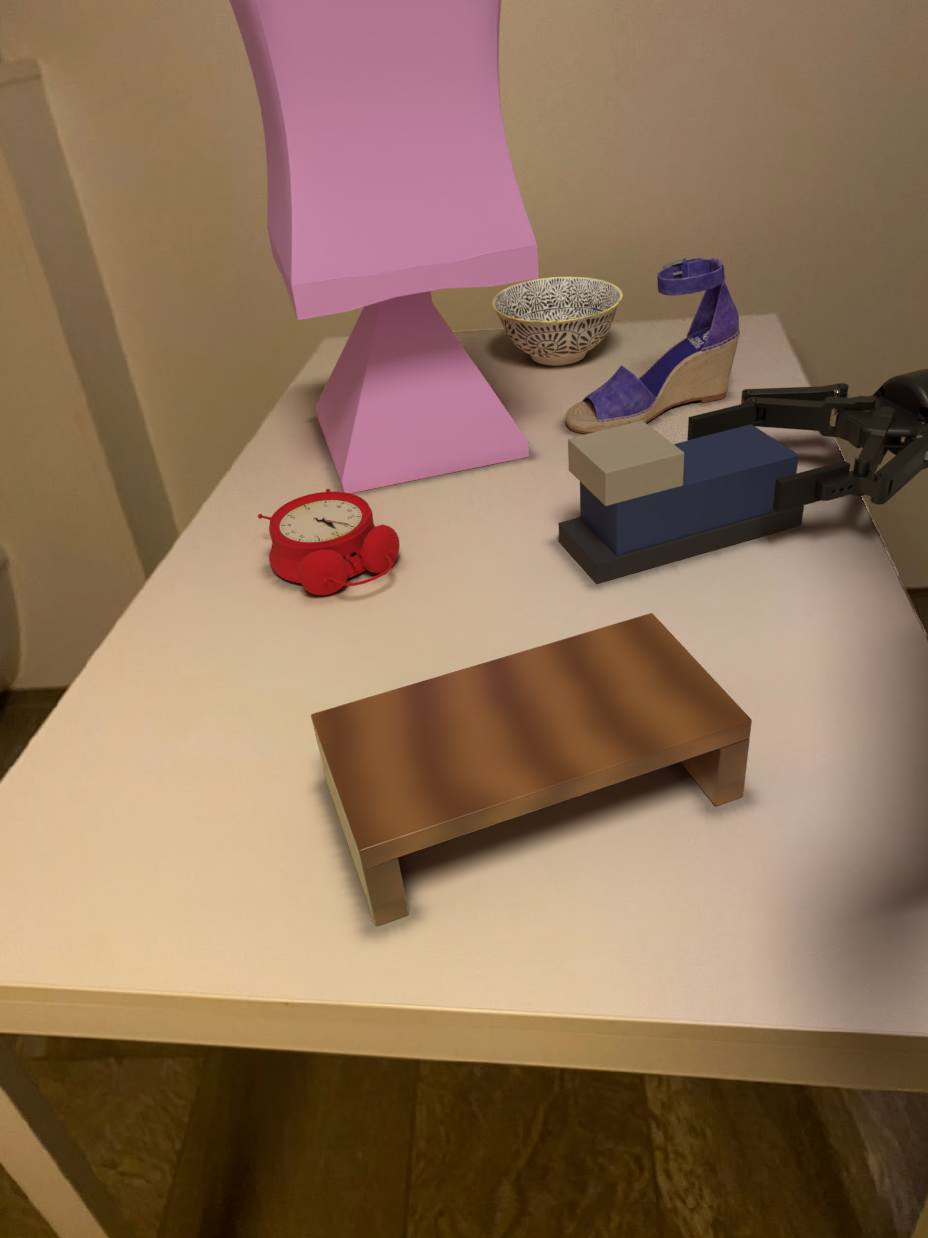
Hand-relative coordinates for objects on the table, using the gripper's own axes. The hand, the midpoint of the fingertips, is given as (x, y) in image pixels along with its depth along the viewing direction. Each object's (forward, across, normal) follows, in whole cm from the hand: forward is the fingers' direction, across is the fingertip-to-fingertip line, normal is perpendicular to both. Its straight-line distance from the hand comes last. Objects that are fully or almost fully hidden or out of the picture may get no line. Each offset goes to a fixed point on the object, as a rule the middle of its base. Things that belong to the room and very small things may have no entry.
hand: (730, 462), depth 83 cm
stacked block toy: (+5, 0, -6) cm, 7 cm away
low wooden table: (+29, -23, -6) cm, 38 cm away
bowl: (-4, +44, -6) cm, 45 cm away
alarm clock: (+34, +10, -6) cm, 36 cm away
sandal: (-6, +24, -6) cm, 25 cm away
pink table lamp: (+20, +31, -6) cm, 37 cm away
